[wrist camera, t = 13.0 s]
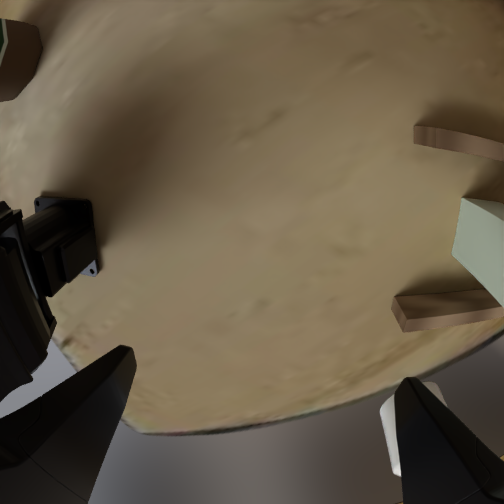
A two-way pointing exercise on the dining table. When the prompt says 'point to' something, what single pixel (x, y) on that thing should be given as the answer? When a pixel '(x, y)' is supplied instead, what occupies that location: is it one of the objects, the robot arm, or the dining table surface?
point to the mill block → (482, 243)
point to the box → (452, 303)
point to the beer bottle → (17, 56)
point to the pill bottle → (390, 428)
